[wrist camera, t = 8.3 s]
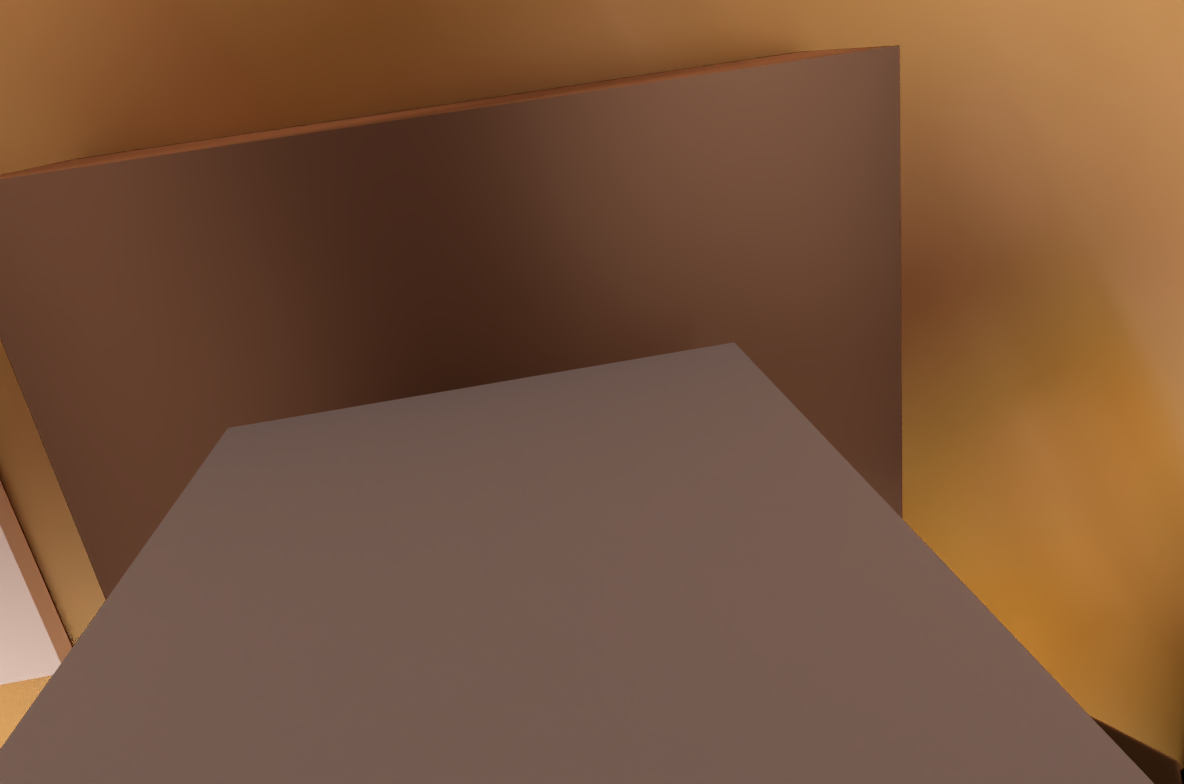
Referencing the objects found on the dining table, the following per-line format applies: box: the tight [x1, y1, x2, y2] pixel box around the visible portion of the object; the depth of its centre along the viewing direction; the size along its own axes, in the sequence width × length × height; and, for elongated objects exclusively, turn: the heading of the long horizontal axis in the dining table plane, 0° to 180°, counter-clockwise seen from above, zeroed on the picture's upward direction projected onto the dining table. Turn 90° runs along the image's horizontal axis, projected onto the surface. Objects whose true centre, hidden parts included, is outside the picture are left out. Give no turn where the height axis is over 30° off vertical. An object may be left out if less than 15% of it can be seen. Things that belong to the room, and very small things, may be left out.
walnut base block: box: [0, 45, 902, 599], centre depth 12 cm, size 10×10×3 cm
